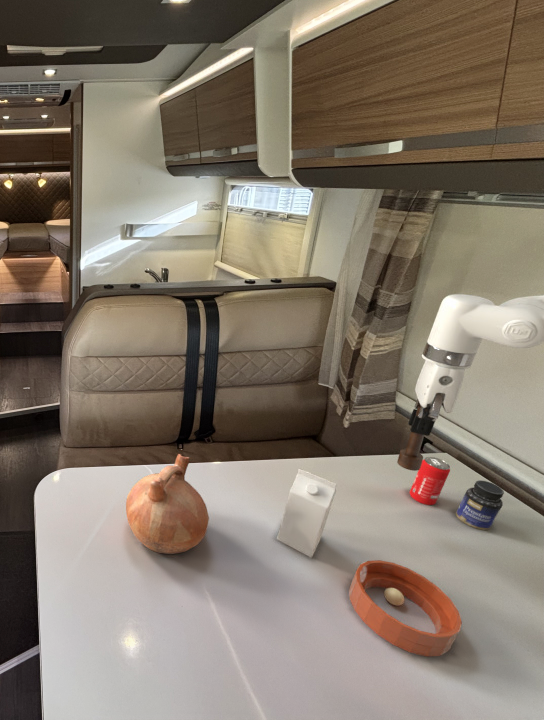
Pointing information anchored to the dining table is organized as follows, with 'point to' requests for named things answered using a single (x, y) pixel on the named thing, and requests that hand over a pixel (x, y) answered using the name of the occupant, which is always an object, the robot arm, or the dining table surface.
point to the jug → (167, 510)
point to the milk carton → (306, 512)
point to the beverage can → (429, 480)
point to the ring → (415, 590)
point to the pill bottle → (480, 505)
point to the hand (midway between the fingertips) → (418, 429)
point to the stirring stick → (412, 451)
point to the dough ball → (394, 596)
